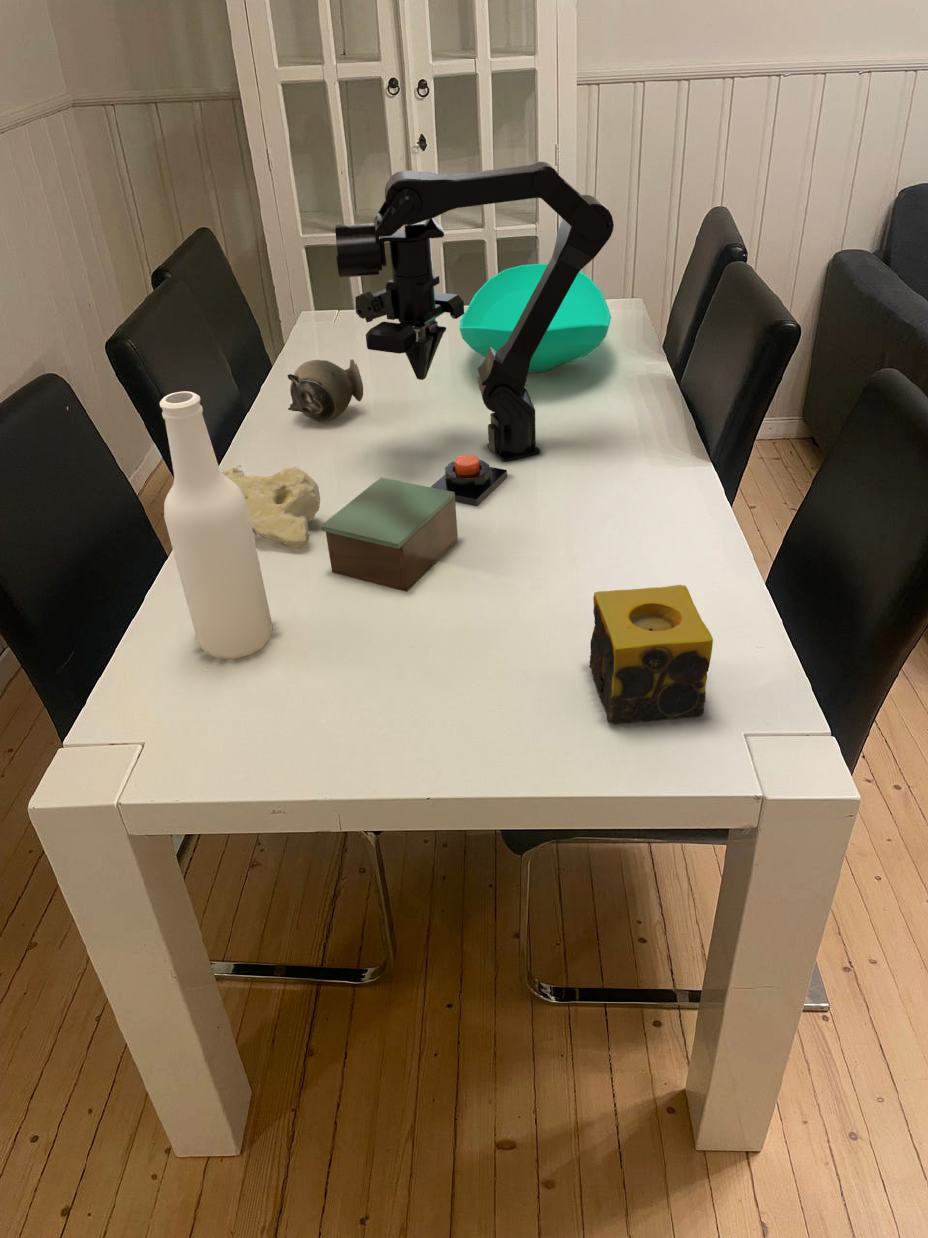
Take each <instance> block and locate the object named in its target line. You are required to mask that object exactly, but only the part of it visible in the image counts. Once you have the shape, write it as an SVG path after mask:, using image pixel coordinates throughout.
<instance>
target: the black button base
mask: <svg viewBox="0 0 928 1238" xmlns="http://www.w3.org/2000/svg"><path fill="white" fill-rule="evenodd" d="M479 466H480V471H479V472H478V473H475V474H472V475H460V474H457V473H456V472H455V462H454V461H451V462H450V463H448V464H447V465H445V467H444V475H443V476H441V478H439V479H438V480H437V481H435V483H434V484H433V485H431V486H430V487H431V488H436V489H441V490H446V491H451V492H455V503H458V504H463V505H467V506H473V507H478V506H479V505H480V504H481V503H483V501H484V500H485V499H486V498H487V497H488V496H489V495H491V493H492V492H494V490H495V489H496V488H497V487H499V486H500V485H501V484H502V483H503V482H504V481H505V480H506V479H507V478H508V470H507V469H504V468H499V467H492V466H490V464H489V463H487V462H486V461H485V460H482V459H479Z"/></svg>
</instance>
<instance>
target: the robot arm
mask: <svg viewBox="0 0 928 1238" xmlns="http://www.w3.org/2000/svg"><path fill="white" fill-rule="evenodd" d="M384 188H385V189H384V201H383V203H382V205H381V207H380V208H379V210H378V212H376V213H375V214H376V215H375V217H374V219H373V223H372V222H371V223H370V222H369V223H360V224H359V223H358V224H347V223H339V224H338V223H337V224H336V225H335V227H334V232H335V242H336V254H335V257H336V265H337V271H338V277H339V279H344V278H356V277H357V278H358V277H367V276H368V277H369V276H380V271H383V268H386V267H387V258H386V257H387V256H386V247H385V243H388V244H389V254H390V265H391V275H392V279H390V280H388V281H386V284H385V288H384V289H381V290H379V291H376V292H374V293H372V292H371V291H366V292H365V293H360V294H358V295H356V296H355V298H354V299H355V313H356V315H357V316H358V318H361V319H362V320H363V319H364V320H365V322H366V323H371V322H373V321H374V320H375V319H378V318H381V317H385V316H386V320H389V321H381V322H380V323H378V324H376V325H374V326H373V327H371V328H370V329H368V331H367V332H366V334H365V343H366V349H367V350H370V351H376V352H385V353H393V354H399V355H400V354H405V355H406V358H407V359H408V362H409V364H410V366H411V368H412V371H413V373H414V375H415V377H416V380H419V381H423V380H425V379H426V378H427V376H428V373H429V371H430V368H431V365H432V363H433V360H434V357H435V355H436V352H437V350H438V349H439V348H438V347H439V345H440V343H441V341H442V338H443V336H444V333H445V332H447V327H446V326H441V325H439V324H438V321H437V320H436V319H437V318H439V317H440V316H442V315H443V314H444V313H446V314H447V313H448V314H449V315H450V317H451V319H453V320H457V319H459V318H461V317H462V316H463V315H464V313H465V303H464V300H463V299H462V298H461V296H460V295H459V294H455V293H445V292H435V287H436V286H437V285H439V284H440V275H434V267H433V252H432V239H440V238H441V239H442V238H444V236H445V232H444V228H443V227H442V225H440V224H439V223H437V222H436V221H435V219H434V218H437V217H438V216H442V215H443V214H445V213H447V212H450V211H452V210H455V209H461V208H468V207H469V208H470V207H477V206H484V205H491V204H500V203H508V202H516V201H523V200H530V199H541V200H542V201H543V202H544V203H546V205H548V206H549V207H550V208H551V209H552V210H553V211H554V212H555V213H556V214H557V215H558V216H560V218H561V221H560V224H559V227H558V229H557V233H556V238H555V244H554V248H553V252H552V255H551V258H550V260H549V261H548V263H547V264H548V265H547V267H546V269H545V271H544V273H543V275H542V277H541V278H540V280H539V282H538V284H537V286H536V288H535V290H534V292H533V294H532V295H531V297H530V299H529V301H528V303H527V305H526V307H525V309H524V311H523V313H522V314H521V316H520V318H519V320H518V322H517V324H516V326H515V328H514V330H513V332H512V333H511V335H510V337H509V339H508V341H507V342H506V344H505V345H504V346H502V347H501V348H500V349H499V350H498V351H496V350H494V349H493V348H491V347H489V349H488V351H487V354H486V357H484V359H483V361H482V362H481V364H480V365H479V366H478V367H477V368H476V370H477V373H478V377H477V384H478V388H479V392H480V396H481V399H482V402H483V405H484V406H485V407H486V408H487V410H489V411H491V412H492V413H490V414H489V415H490V423H489V424H487V435H488V443H487V448H488V449H489V450H490V451H491V452H492V453H493V454H494V455H495V456H497V458H499V459H500V460H501V461H502V462H509V461H513V460H518V459H522V458H526V457H532V456H535V455H539V454H541V449H540V447H538V446H537V445H536V444H537V443H536V442H537V441H536V439H537V437H536V435H537V434H536V432H537V431H536V409H535V407H534V404H533V401H532V398H531V396H530V393H529V391H528V389H527V388H526V383H527V378H528V375H529V372H528V370H529V365H530V361H531V359H532V357H533V355H534V353H535V351H536V349H537V348H538V346H539V344H540V342H541V340H542V338H543V337H544V335H545V333H546V331H547V329H548V327H549V326H550V324H551V322H552V320H553V318H554V316H555V315H556V313H557V311H558V309H559V307H560V305H561V304H562V302H563V300H564V298H565V296H566V294H567V293H568V291H569V289H570V287H571V285H572V283H573V282H574V280H575V278H576V276H577V274H578V273H579V272H581V271H582V269H584V268H585V267H586V266H587V265H589V264H590V262H592V261H593V260H594V259H595V258H596V257H597V255H598V254H599V253H600V252H601V250H602V249H603V248H604V246H605V245H606V244H607V243H608V241H609V240H610V238H611V237H612V234H613V231H614V225H615V224H614V219H613V215H612V213H611V211H610V210H609V209H608V208H607V207H606V206H605V204H603V203H602V202H601V201H600V200H599V199H598V198H597V197H596V196H593V195H590V194H581V193H579V191H578V190H576V189H575V188H574V187H573V186H572V185H570V183H569V182H567V181H566V180H565V179H564V178H563V177H562V176H561V175H560V174H559V172H558V171H556V169H555V168H554V166H552V165H551V164H550V163H549V162H547V161H537V162H535V163H532V164H526V165H519V166H512V167H504V168H495V169H487V170H479V171H473V172H465V173H457V174H456V173H455V174H445V173H437V172H431V171H419V170H401V171H397V172H395V173H393V174H392V175H391V176H390V177H389V179H388V180H387V182H386V184H385V187H384ZM402 227H404V229H402V230H400V229H401V228H402ZM390 320H391V321H395V320H398V322H399V323H398V322H390Z"/></svg>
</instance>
